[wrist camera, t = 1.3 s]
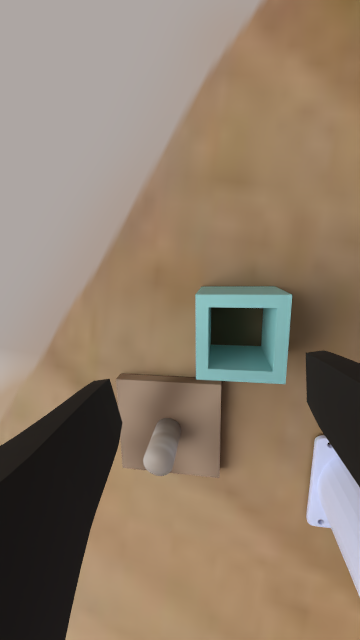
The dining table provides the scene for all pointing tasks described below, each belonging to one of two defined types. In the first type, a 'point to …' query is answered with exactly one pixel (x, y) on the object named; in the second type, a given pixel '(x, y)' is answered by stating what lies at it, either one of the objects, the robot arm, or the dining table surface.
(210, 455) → the pin plate
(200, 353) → the teal hollow block
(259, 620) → the dining table surface
